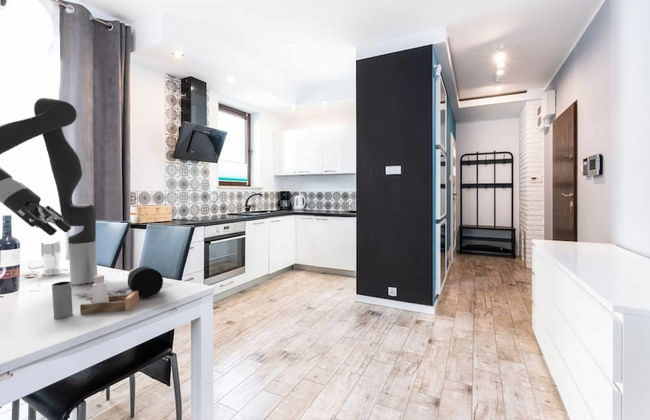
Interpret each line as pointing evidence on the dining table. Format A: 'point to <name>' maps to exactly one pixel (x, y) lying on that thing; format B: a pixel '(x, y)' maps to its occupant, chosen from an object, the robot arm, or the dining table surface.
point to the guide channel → (112, 304)
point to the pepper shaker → (99, 290)
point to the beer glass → (51, 257)
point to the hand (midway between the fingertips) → (61, 231)
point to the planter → (62, 299)
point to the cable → (145, 281)
